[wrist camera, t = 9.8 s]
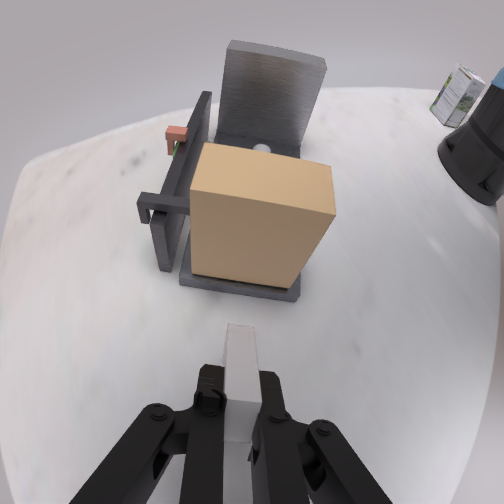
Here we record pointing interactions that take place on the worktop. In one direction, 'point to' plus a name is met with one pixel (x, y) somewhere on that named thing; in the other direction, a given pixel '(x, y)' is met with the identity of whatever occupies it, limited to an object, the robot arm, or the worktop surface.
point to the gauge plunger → (251, 213)
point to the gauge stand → (241, 141)
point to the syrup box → (457, 96)
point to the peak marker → (175, 136)
